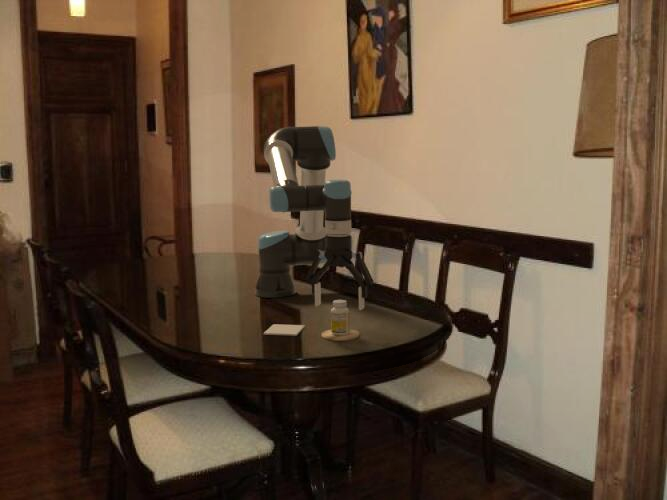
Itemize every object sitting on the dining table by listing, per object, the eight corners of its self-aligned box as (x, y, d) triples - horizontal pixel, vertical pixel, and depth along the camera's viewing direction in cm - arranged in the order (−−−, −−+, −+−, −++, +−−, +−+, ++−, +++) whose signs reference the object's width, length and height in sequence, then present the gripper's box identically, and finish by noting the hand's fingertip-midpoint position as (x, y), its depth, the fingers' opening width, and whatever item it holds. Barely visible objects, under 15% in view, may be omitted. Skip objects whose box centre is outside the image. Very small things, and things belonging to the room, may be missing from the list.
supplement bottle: (341, 336, 198) (340, 304, 197) (327, 333, 202) (326, 301, 200) (353, 332, 202) (352, 300, 201) (339, 329, 206) (338, 298, 204)
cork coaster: (315, 339, 199) (315, 337, 199) (329, 329, 209) (329, 327, 209) (351, 342, 195) (351, 340, 195) (364, 332, 205) (364, 330, 205)
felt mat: (263, 334, 205) (263, 332, 204) (273, 325, 214) (273, 324, 214) (296, 335, 202) (296, 334, 202) (304, 326, 212) (304, 325, 212)
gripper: (293, 234, 198) (295, 306, 202) (375, 238, 189) (376, 313, 193) (303, 231, 205) (305, 300, 209) (384, 234, 196) (384, 307, 200)
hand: (339, 307), depth 201 cm, fingers open, 13 cm apart
